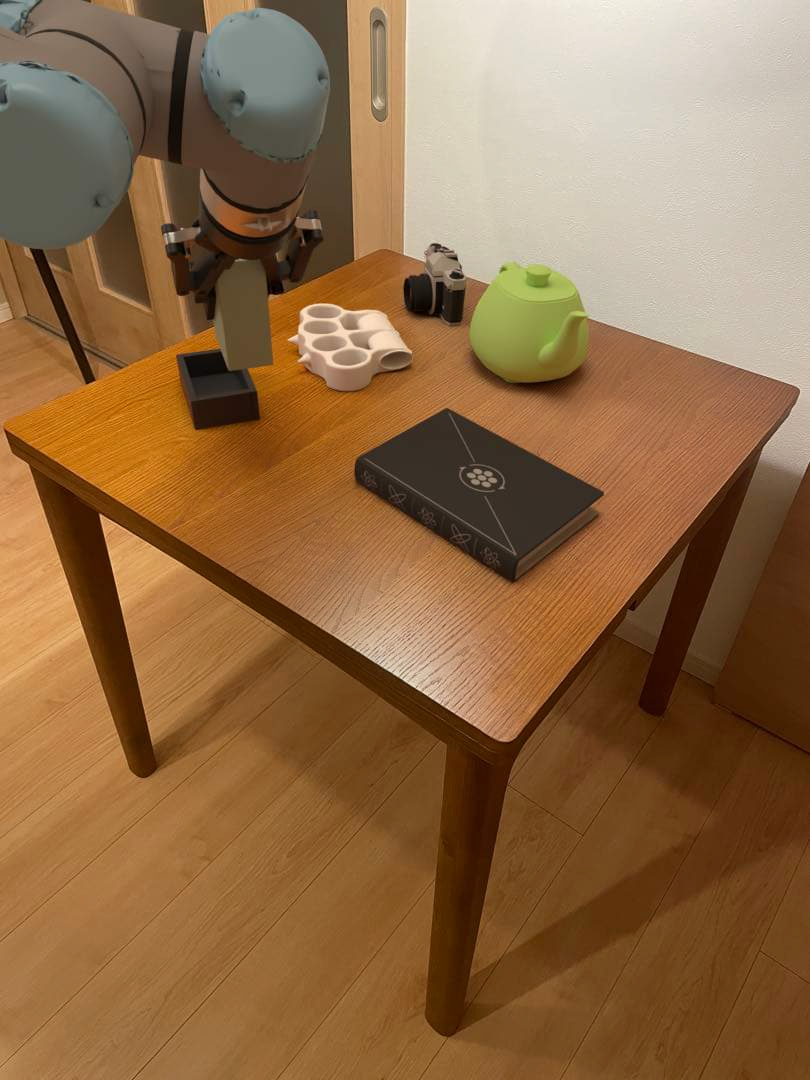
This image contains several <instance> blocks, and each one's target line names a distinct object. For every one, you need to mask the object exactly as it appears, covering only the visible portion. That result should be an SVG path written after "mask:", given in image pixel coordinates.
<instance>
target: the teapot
mask: <svg viewBox="0 0 810 1080" xmlns="http://www.w3.org/2000/svg"><path fill="white" fill-rule="evenodd" d="M498 271H499V272H498V274H497V275H496V276H495V277H494V279H492V281H491V282H490V284H489V285H488V287H487V288H486V290H485V291H484V293H483V294H482V295H481V298H480V299H479V301H478V303H477V305H476V307H475V309H474V312H473V314H472V318H471V322H470V324H469V325H470V327H469V333H468V338H469V344H470V347H471V349H472V350H473V352H474V353H475V355H476V357H477V358H478V359H479V361H480V362H481V363H482V365H483V366H484V367H485V368H487V369H488V370H489V371H491V372H492V373H493V374H495V375H497V376H499V377H501V378H503V380H504V382H507V383H509V384H518V383H540V382H548V381H553V380H557V379H561V378H565V377H566V376H570V374H572V373H573V372H574V371H576V369H578V368H579V367H580V366H582V364H583V363H584V362H585V360H586V358H587V356H588V352H589V345H590V344H589V343H590V342H589V341H590V337H589V323H588V318H589V317H590V313H588V312H586V311H585V308H584V303H583V302H582V298H581V296H580V293H579V290H578V288H577V286H576V285H575V283H574V282H573V281H572V280H571V279H570V278H569V277H567V276H566V275H564V274H563V273H560V272H558V271H557V270H554V269H552V268H551V267H549V266H547V265H546V264H545V265H544V264H540V263H533V264H529V265H526V266H525V267H522V266H521V265H520V264H519V263H517V262H506V263H504V264H502V265H501V266H500V269H499V270H498Z"/></svg>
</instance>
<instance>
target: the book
mask: <svg viewBox="0 0 810 1080" xmlns="http://www.w3.org/2000/svg"><path fill="white" fill-rule="evenodd" d="M353 473H354V478H355V481H356V482H357V483H359V484H360V485H362V486H363V487H365V489H368V490H369V491H371V492H372V493H374V494H376V495H377V496H379V497H380V498H381V499H383V500H385V501H386V502H388V503H390V504H391V505H392V506H394V507H395V508H397V509H399V510H400V511H402V512H403V513H405V514H407V515H408V516H409V517H411V518H412V519H413V520H415V521H417V522H419V523H420V524H422V525H423V526H424V527H426V528H428V529H429V530H431V531H432V532H433V533H435V534H437V535H438V536H440V537H442V538H443V539H445V540H446V541H448V542H449V543H451V544H452V545H454V546H456V547H457V548H459V549H460V550H462V551H463V552H464V553H466V554H468V555H469V556H471V557H472V558H474V559H476V560H477V561H479V562H480V563H482V564H483V565H485V566H486V567H488V568H490V569H491V570H492V571H494V572H496V573H497V574H499V575H500V576H502V577H503V578H505V579H506V580H508V581H510V582H511V583H513V582H516V581H517V580H518V579H519V578H521V577H522V576H523V575H524V574H526V573H527V572H528V571H529V570H530V569H532V568H533V567H534V566H536V565H537V564H538V563H540V562H541V561H542V560H543V559H544V558H546V557H547V556H548V555H549V554H551V553H552V552H553V551H555V550H556V549H557V548H559V546H561V545H562V544H563V543H564V542H566V541H567V540H568V539H569V538H571V537H572V536H573V535H575V534H576V533H577V532H578V531H580V530H581V529H582V528H584V527H585V526H586V525H587V524H588V523H590V522H591V521H592V520H594V519H595V518H596V517H598V515H599V514H600V512H599V511H598V510H595V509H594V508H591V506H592V505H594V504H595V503H596V502H597V501H598V500H600V499H601V498H603V497H604V496H605V492H604V491H603V490H601V489H599V488H597V487H596V486H593V485H592V484H590V483H588V482H586V481H585V480H583V479H581V478H579V477H578V476H575V475H573V474H571V473H570V472H567V471H565V470H563V468H560V467H558V466H557V465H554V464H553V463H551V462H549V461H547V460H545V459H544V458H542V457H540V456H538V455H536V454H534V453H532V452H530V450H529V451H528V450H527V449H525V448H523V447H521V446H519V445H517V444H515V443H514V442H512V441H510V440H508V439H506V438H504V437H503V436H501V435H499V434H497V433H495V432H494V431H492V430H490V429H488V428H486V427H484V426H482V425H481V424H478V423H476V422H475V421H473V420H471V419H469V418H467V417H465V416H464V415H462V414H459V413H458V412H456V411H455V410H453V409H451V408H449V407H445V408H444V409H441V410H440V411H438V412H436V413H435V414H432V415H431V416H429V417H427V418H425V419H423V420H421V421H420V422H418V423H416V424H414V425H413V426H411V427H410V428H409V427H408V428H407V429H406V430H404V431H402V432H400V433H399V434H397V435H395V436H393V437H391V438H389V439H388V440H386V441H384V442H382V443H381V444H379V445H377V446H376V447H373V448H372V449H370V450H368V451H366V452H365V453H363V454H361V455H359V456H358V457H356V459H355V462H354V469H353Z"/></svg>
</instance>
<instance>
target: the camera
mask: <svg viewBox="0 0 810 1080" xmlns="http://www.w3.org/2000/svg"><path fill="white" fill-rule="evenodd" d="M423 254H424V257H423V258H424V259H425V263H424V267H423V268H424V270H423V272H422V273H420V274H419V275H417V274H411V275H409V276H408V277H406V278H405V279H404V280H403V300H404V305H405V308H406V309H407V311H411V312H412V313H415V312H419V311H421V312H422V313H428V314H429V316H439V317H440V318H441V320H442V321H443V324H446V325H447V326H451V327H452V326H460V325H462V323H463V319H464V309H465V300H466V299H465V298H466V289H467V280H468V279H467V278H468V277H467V275H466V274H465V272H464V271H463V265H461V263H460V261H459V256H458V253H457V252H455V249H450V248H448V247H447V246H445V245H442V244H440V243H437V242H433V243H430V244H429V245H428V246H427V248H426V250H424V252H423Z"/></svg>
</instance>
